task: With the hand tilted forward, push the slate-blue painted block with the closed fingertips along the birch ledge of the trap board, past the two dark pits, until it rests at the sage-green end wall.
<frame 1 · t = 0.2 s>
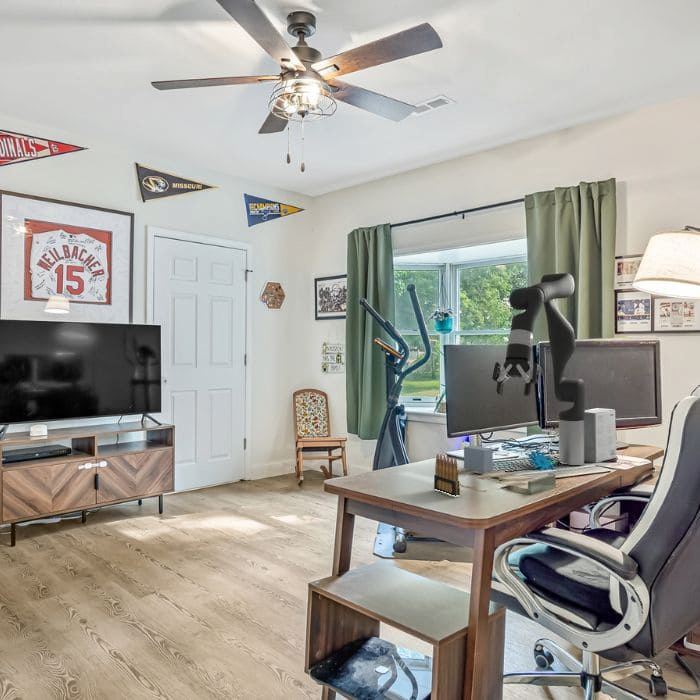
hand: (512, 395, 174), 31 cm above the table, tool tilted 20°, fingers open, 8 cm apart
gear: (543, 472, 205), on the table
trap board: (498, 480, 192), on the table
ammunition clip: (446, 494, 177), on the table
hard drive box: (597, 459, 227), on the table
slate block: (478, 469, 203), point 1 cm above the table, touching trap board
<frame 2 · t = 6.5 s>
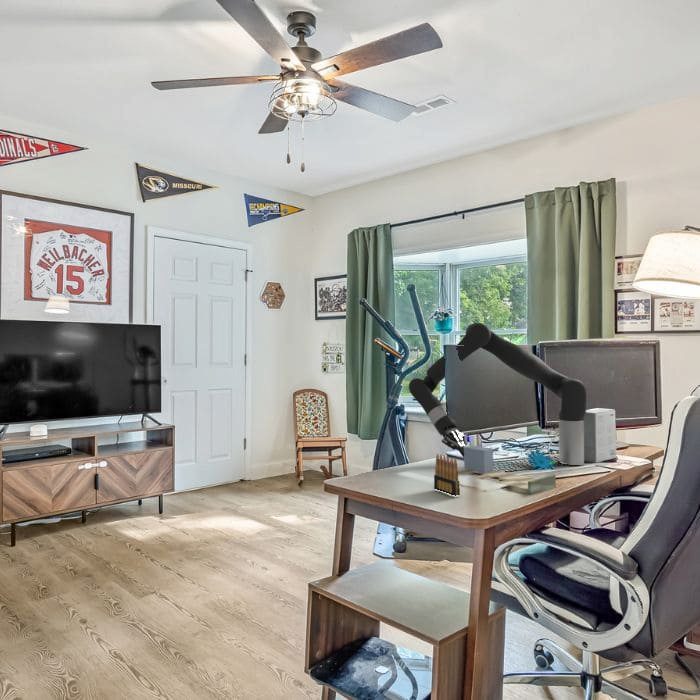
hand: (467, 456, 207), 6 cm above the table, tool tilted 45°, fingers closed
slate block: (478, 469, 203), point 2 cm above the table, touching gripper, trap board
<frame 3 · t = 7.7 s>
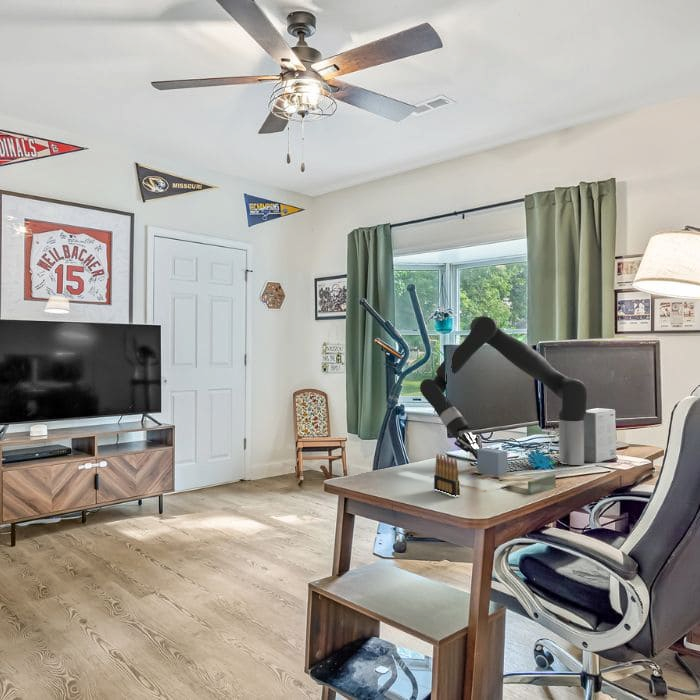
hand: (480, 459, 202), 6 cm above the table, tool tilted 45°, fingers closed
slate block: (492, 472, 198), point 2 cm above the table, touching gripper
everything else where it was.
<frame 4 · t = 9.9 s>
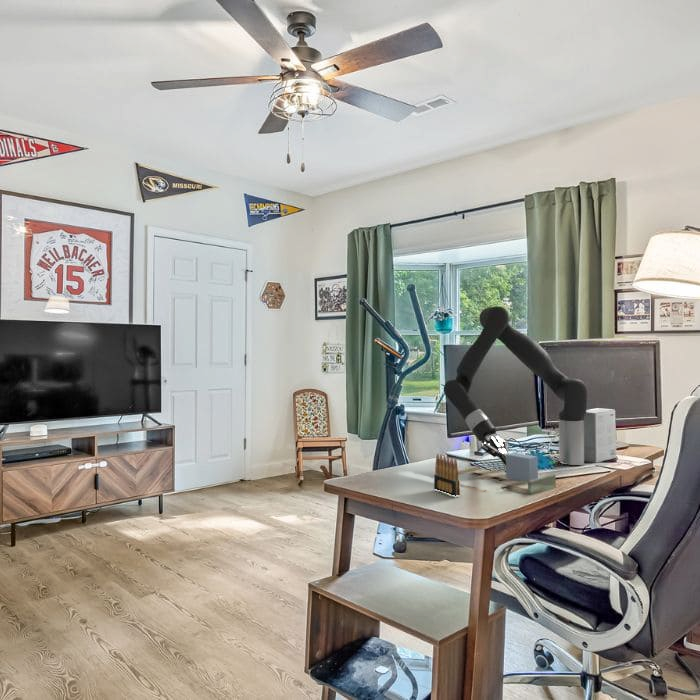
hand: (509, 464, 192), 6 cm above the table, tool tilted 45°, fingers closed
slate block: (521, 479, 188), point 2 cm above the table
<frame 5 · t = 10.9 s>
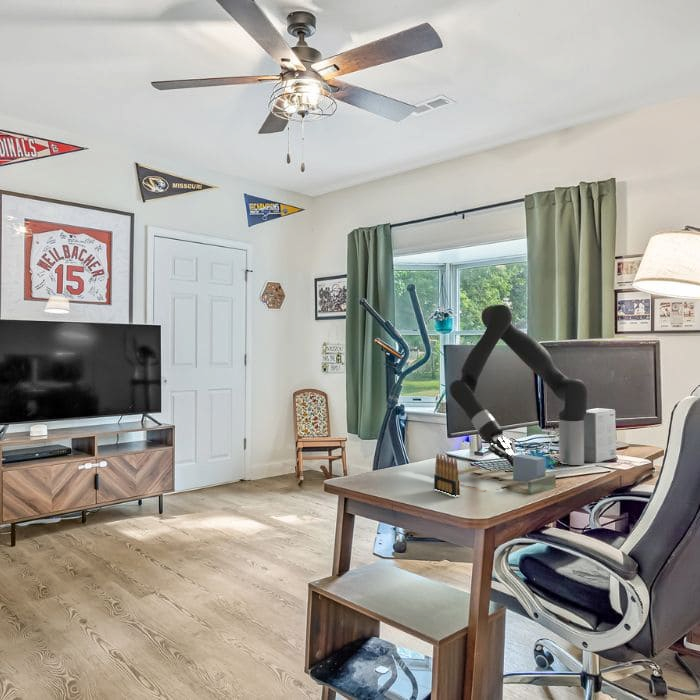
hand: (516, 465, 190), 6 cm above the table, tool tilted 45°, fingers closed
slate block: (529, 480, 186), point 2 cm above the table, touching gripper, trap board
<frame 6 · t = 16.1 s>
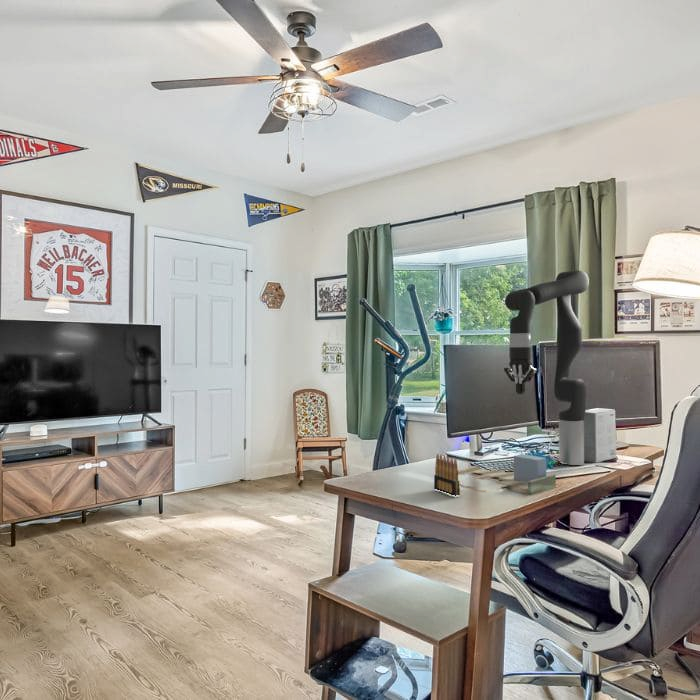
hand: (520, 393, 202), 29 cm above the table, tool pointing down, fingers closed
slate block: (529, 481, 186), point 1 cm above the table, touching trap board
at the end: slate block inside the target area (0.6 cm from its centre), point 1.5 cm above the table; slate block tilted 0°; slate block moved 21.5 cm from its start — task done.
